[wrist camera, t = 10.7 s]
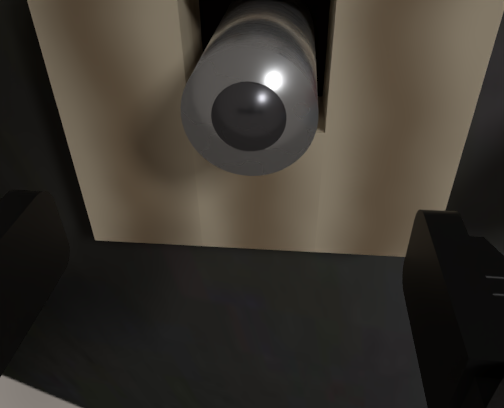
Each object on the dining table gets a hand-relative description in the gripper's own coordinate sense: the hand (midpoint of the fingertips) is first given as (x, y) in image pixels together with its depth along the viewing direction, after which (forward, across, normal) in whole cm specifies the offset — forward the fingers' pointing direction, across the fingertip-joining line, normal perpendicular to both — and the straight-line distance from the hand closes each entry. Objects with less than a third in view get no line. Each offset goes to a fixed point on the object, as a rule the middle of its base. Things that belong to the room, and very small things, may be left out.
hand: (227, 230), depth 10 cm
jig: (+14, 0, +3) cm, 15 cm away
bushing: (+14, 0, 0) cm, 15 cm away
